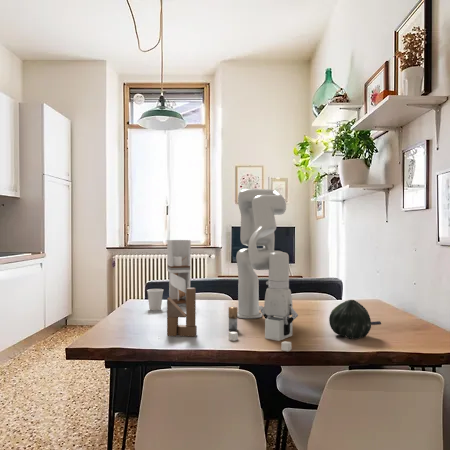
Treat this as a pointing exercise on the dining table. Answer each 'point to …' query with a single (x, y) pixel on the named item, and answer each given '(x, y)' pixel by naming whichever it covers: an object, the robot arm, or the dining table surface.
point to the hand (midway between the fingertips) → (278, 332)
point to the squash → (350, 320)
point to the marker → (286, 346)
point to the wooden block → (176, 312)
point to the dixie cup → (155, 299)
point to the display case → (179, 269)
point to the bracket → (375, 322)
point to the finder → (276, 328)
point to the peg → (233, 318)
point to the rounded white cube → (233, 336)
